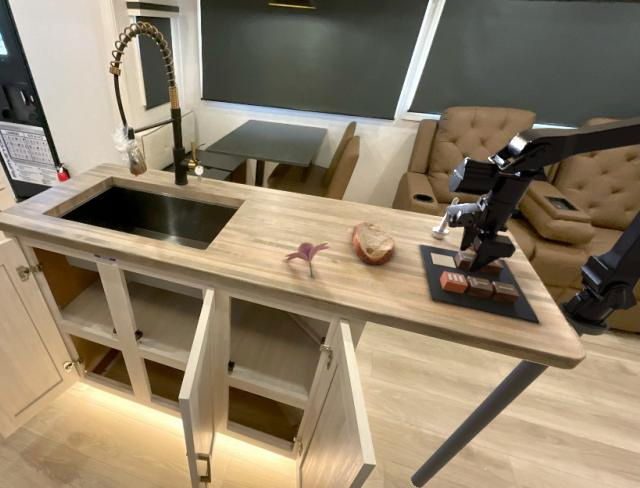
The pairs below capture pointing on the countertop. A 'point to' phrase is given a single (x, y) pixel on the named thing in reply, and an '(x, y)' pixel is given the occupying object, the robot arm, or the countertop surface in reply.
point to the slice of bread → (372, 243)
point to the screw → (443, 225)
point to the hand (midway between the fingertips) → (466, 260)
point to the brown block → (463, 259)
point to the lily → (307, 252)
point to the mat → (445, 261)
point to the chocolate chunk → (493, 268)
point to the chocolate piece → (478, 287)
